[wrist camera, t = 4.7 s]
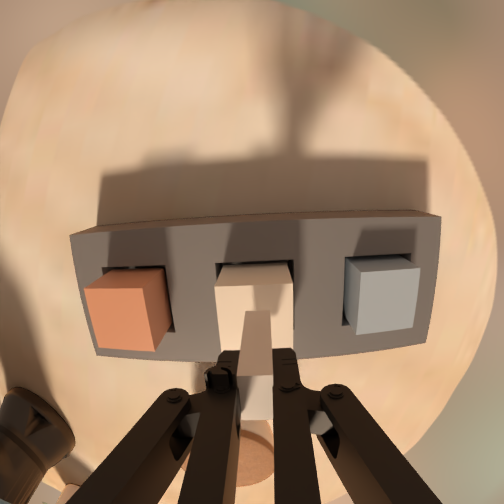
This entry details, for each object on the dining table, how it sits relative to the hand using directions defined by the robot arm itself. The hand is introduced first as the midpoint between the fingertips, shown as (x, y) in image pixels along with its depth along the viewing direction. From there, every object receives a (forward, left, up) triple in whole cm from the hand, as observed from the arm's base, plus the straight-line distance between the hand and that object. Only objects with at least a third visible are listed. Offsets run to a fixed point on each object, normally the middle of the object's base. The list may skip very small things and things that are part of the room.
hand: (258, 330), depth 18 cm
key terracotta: (-10, 0, -7) cm, 12 cm away
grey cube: (+10, 0, -8) cm, 13 cm away
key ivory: (0, 0, -7) cm, 7 cm away
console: (0, 0, -11) cm, 11 cm away
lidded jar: (-4, -18, -11) cm, 21 cm away
